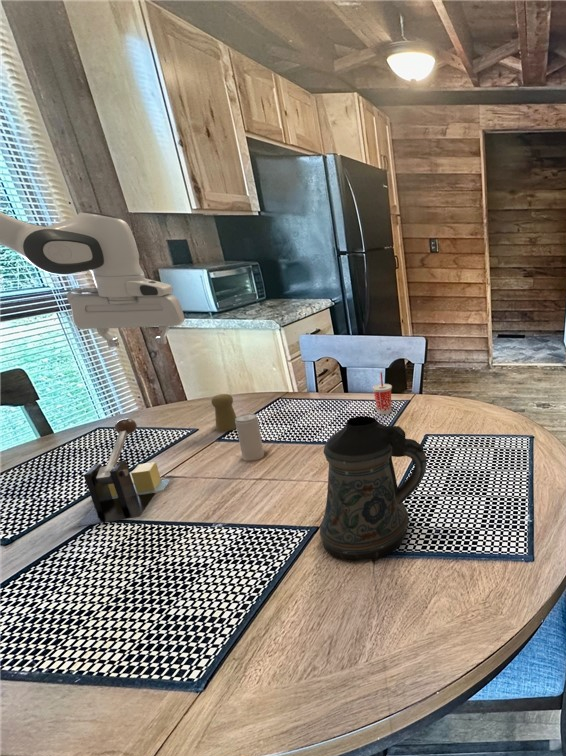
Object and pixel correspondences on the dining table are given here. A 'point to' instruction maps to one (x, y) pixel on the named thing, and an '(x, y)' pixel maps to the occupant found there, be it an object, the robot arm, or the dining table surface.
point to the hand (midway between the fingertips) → (138, 345)
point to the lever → (116, 449)
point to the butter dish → (159, 488)
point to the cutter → (105, 504)
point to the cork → (224, 412)
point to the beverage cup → (382, 397)
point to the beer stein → (367, 489)
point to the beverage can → (249, 437)
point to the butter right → (146, 477)
